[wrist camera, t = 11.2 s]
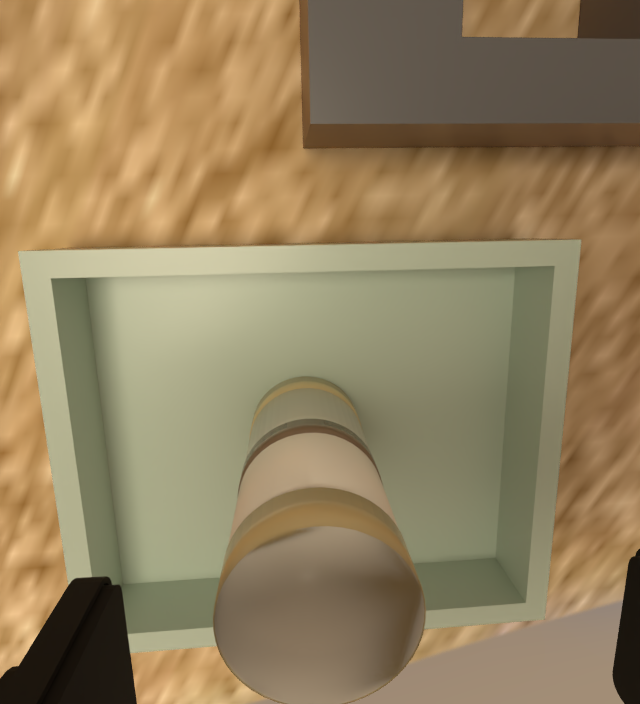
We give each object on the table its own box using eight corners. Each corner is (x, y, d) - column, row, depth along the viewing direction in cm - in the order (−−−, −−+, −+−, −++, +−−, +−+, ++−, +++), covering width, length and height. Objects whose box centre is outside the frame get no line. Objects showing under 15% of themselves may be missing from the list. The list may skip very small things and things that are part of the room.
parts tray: (527, 238, 19) (581, 239, 16) (504, 561, 22) (544, 619, 19) (67, 248, 18) (18, 251, 15) (111, 589, 21) (79, 657, 18)
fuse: (355, 372, 19) (424, 514, 9) (360, 471, 20) (427, 697, 10) (247, 380, 19) (200, 535, 9) (257, 480, 20) (224, 718, 10)
